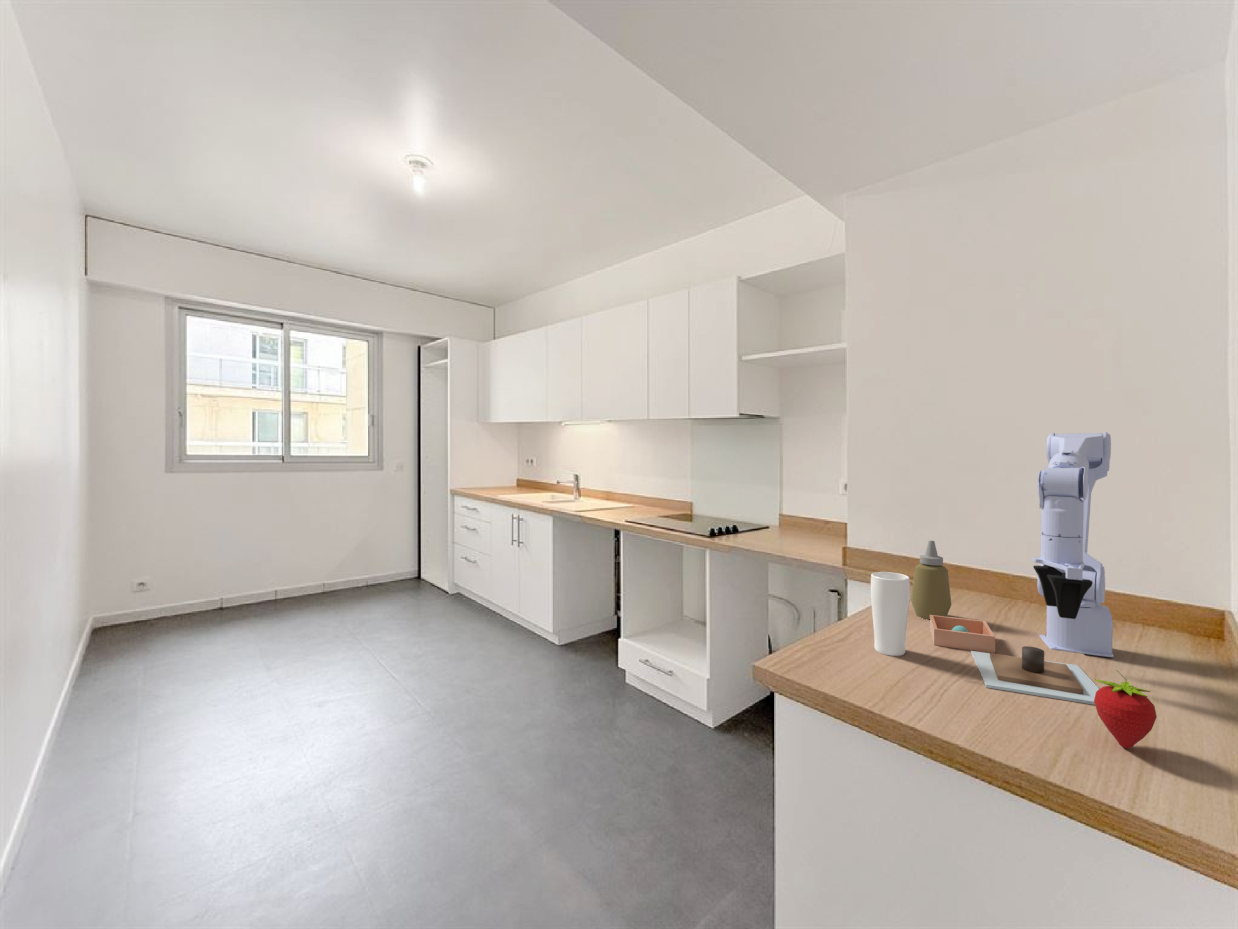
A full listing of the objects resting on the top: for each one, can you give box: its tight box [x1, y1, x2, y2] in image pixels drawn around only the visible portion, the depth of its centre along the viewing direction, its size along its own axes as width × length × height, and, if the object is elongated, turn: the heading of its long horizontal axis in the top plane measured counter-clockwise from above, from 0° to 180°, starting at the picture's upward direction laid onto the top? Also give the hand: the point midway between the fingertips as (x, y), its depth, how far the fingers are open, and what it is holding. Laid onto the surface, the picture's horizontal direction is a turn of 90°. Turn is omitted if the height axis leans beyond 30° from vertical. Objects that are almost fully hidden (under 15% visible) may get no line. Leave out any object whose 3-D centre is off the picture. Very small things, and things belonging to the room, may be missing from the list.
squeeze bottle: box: [910, 540, 952, 620], centre depth 121 cm, size 8×8×18 cm
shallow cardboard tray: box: [929, 615, 996, 654], centre depth 106 cm, size 10×10×4 cm
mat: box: [970, 650, 1100, 706], centre depth 90 cm, size 16×16×1 cm
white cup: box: [870, 571, 911, 657], centre depth 101 cm, size 7×7×15 cm
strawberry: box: [1094, 669, 1158, 749], centre depth 69 cm, size 6×8×10 cm
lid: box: [990, 645, 1083, 694], centre depth 90 cm, size 11×11×4 cm
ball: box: [952, 626, 968, 632], centre depth 106 cm, size 3×3×3 cm
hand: (1060, 611), depth 93 cm, fingers open, 7 cm apart
